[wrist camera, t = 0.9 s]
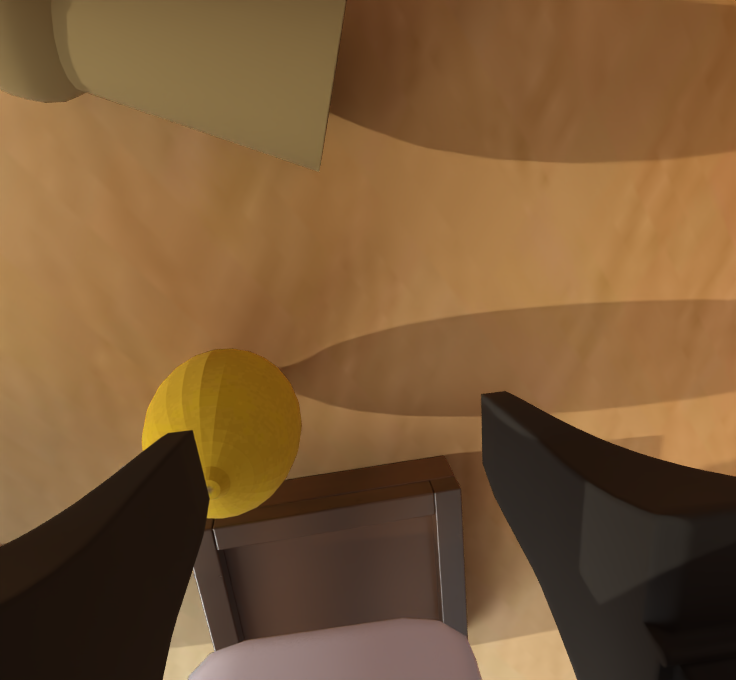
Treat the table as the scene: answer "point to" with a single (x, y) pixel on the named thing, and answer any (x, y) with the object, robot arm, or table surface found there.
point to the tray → (338, 554)
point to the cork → (186, 63)
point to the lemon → (231, 425)
